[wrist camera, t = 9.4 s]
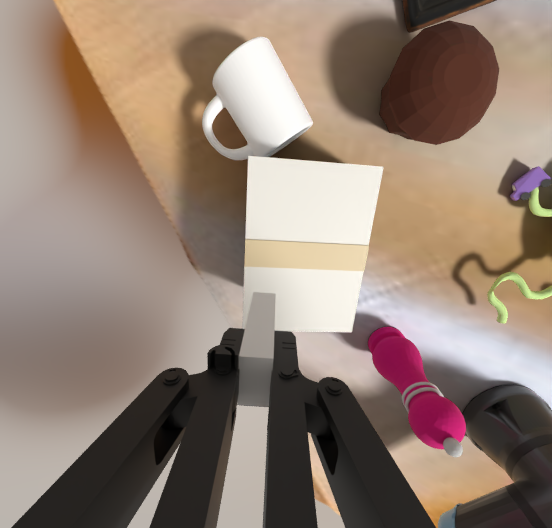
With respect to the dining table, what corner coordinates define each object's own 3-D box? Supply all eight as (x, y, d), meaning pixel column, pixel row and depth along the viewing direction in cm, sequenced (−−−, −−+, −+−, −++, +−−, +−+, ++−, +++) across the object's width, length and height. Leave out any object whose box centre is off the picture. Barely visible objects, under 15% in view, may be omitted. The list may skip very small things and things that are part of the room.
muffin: (351, 112, 35) (378, 89, 26) (410, 28, 32) (465, -33, 23) (415, 166, 37) (461, 163, 28) (476, 92, 34) (551, 61, 25)
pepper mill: (392, 363, 48) (466, 485, 29) (357, 350, 47) (410, 467, 28) (413, 332, 46) (508, 442, 27) (377, 318, 45) (448, 421, 26)
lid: (349, 328, 35) (352, 333, 35) (242, 327, 34) (242, 331, 33) (380, 166, 29) (384, 166, 28) (248, 156, 27) (248, 155, 26)
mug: (270, 56, 33) (267, 21, 26) (310, 129, 36) (318, 117, 28) (195, 114, 36) (173, 98, 28) (238, 179, 38) (228, 180, 31)
